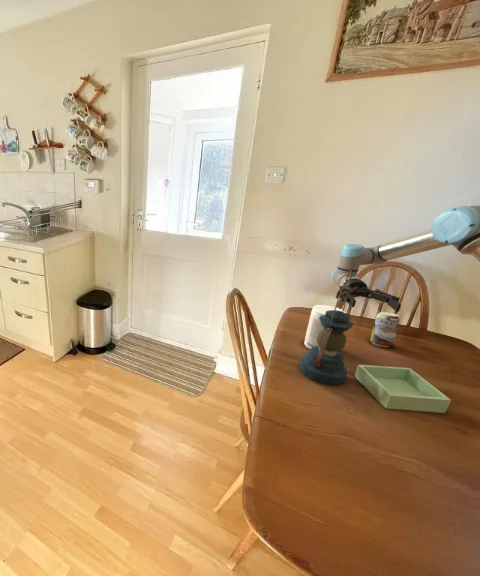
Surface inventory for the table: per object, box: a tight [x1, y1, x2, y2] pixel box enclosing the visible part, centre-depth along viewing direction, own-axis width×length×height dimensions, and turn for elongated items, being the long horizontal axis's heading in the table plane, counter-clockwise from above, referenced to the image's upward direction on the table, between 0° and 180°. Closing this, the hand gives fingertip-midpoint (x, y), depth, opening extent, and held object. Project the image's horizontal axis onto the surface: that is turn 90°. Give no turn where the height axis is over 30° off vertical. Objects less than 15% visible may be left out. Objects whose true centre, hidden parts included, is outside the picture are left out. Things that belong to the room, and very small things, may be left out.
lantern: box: [299, 266, 354, 386], centre depth 90 cm, size 14×12×35 cm
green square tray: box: [354, 364, 452, 414], centre depth 87 cm, size 14×14×4 cm
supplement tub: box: [303, 304, 347, 350], centre depth 107 cm, size 10×10×15 cm
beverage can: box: [369, 311, 401, 348], centre depth 109 cm, size 6×7×12 cm
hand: (376, 306), depth 116 cm, fingers open, 13 cm apart
